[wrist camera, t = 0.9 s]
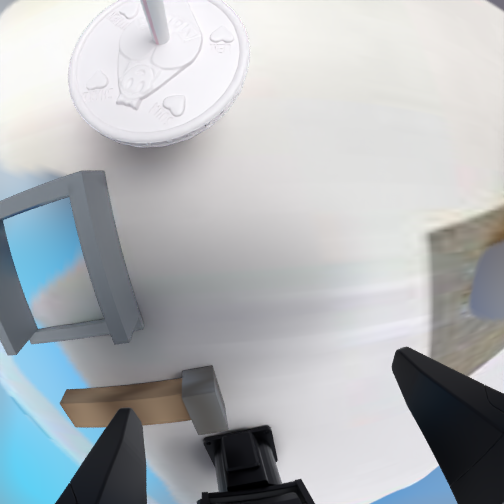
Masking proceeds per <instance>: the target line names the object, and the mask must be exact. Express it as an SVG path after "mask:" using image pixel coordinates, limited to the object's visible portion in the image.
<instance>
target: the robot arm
mask: <svg viewBox="0 0 504 504" xmlns="http://www.w3.org/2000/svg"><path fill="white" fill-rule="evenodd" d="M392 371H393V374H394V376H395V378H396V380H397V383H398V385H399V387H400V390H401V392H402V395H403V397H404V399H405V402H406V404H407V406H408V408H409V410H410V411H411V413H412V415H413V417H414V419H415V420H416V422H417V424H418V426H419V428H420V430H421V431H422V433H423V435H424V437H425V439H426V441H427V443H428V444H429V446H430V448H431V450H432V452H433V454H434V456H435V458H436V460H437V462H438V464H439V466H440V468H441V469H442V472H443V474H444V476H445V478H446V480H447V482H448V484H449V486H450V488H451V490H452V492H453V494H454V496H455V499H456V501H457V503H458V504H504V393H501V392H499V391H497V390H495V389H492V388H490V387H488V386H486V385H485V386H484V384H482V383H480V382H478V381H476V380H474V379H472V378H470V377H468V376H466V375H464V374H462V373H459V372H457V371H455V370H453V369H451V368H449V367H447V366H445V365H443V364H441V363H439V362H437V361H435V360H433V359H431V358H429V357H427V356H425V355H423V354H421V353H419V352H417V351H415V350H413V349H411V348H409V347H403V348H400V349H398V350H397V351H396V352H395V355H394V359H393V363H392ZM203 441H204V446H205V448H206V450H207V452H208V454H209V456H210V458H211V460H212V462H213V464H214V466H215V468H216V475H217V483H218V490H219V492H214V493H208V492H202V499H200V500H198V501H197V504H315V503H314V501H313V499H312V498H311V496H310V494H309V492H308V491H307V489H306V487H305V485H304V483H303V482H302V480H301V479H298V480H295V481H293V482H288V483H283V484H282V482H281V478H280V475H279V472H278V469H277V466H276V462H277V460H278V459H277V455H276V450H275V445H274V440H273V435H272V431H271V428H270V427H269V426H265V427H261V428H256V429H252V430H247V431H242V432H237V433H232V434H226V435H220V436H214V437H208V438H205V439H204V440H203ZM55 504H147V495H146V458H145V449H144V439H143V427H142V423H141V420H140V419H139V418H138V416H137V415H136V413H135V412H134V410H133V409H132V408H130V407H128V408H120V409H119V410H118V411H117V412H116V414H115V415H114V417H113V418H112V420H111V421H110V423H109V424H108V426H107V427H106V429H105V430H104V432H103V433H102V435H101V436H100V437H99V439H98V440H97V442H96V443H95V445H94V446H93V448H92V449H91V451H90V452H89V454H88V455H87V457H86V458H85V460H84V461H83V463H82V464H81V466H80V467H79V469H78V471H77V472H76V473H75V475H74V477H73V478H72V480H71V481H70V483H69V484H68V486H67V487H66V489H65V490H64V492H63V493H62V494H61V496H60V498H59V499H58V500H57V501H56V503H55Z"/></svg>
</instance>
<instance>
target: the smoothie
mask: <svg viewBox="0 0 504 504" xmlns="http://www.w3.org/2000/svg"><path fill="white" fill-rule="evenodd" d="M249 61H250V43H249V38H248V34H247V31H246V29H245V26H244V24H243V22H242V21H241V19H240V17H239V16H238V15H237V13H236V12H235V11H234V10H233V9H232V8H231V7H230V6H229V5H228V4H227V3H225V2H224V1H223V0H118V1H116V2H114V3H113V4H111V5H110V6H108V7H107V8H106V9H104V10H103V11H102V12H101V13H100V14H99V15H97V16H96V17H95V18H94V19H93V20H92V22H91V23H90V24H89V25H88V26H87V28H86V29H85V30H84V32H83V33H82V35H81V36H80V38H79V40H78V42H77V43H76V46H75V48H74V50H73V53H72V56H71V59H70V64H69V71H68V85H69V91H70V95H71V99H72V101H73V104H74V106H75V108H76V110H77V111H78V113H79V114H80V116H81V117H82V118H83V119H84V120H85V121H86V122H87V123H88V124H89V125H90V126H91V127H92V128H94V129H95V130H97V131H98V132H99V133H100V134H101V135H103V136H105V137H107V138H109V139H111V140H113V141H115V142H117V143H119V144H125V145H130V146H135V147H140V148H145V147H161V146H168V145H171V144H174V143H178V142H181V141H184V140H188V139H190V138H192V137H194V136H195V135H197V134H199V133H201V132H202V131H204V130H206V129H208V128H210V127H211V126H212V125H213V124H214V123H215V122H216V121H218V120H219V119H220V118H221V117H222V116H223V115H224V114H225V113H226V112H227V111H229V109H230V107H231V106H232V104H233V103H234V101H235V100H236V98H237V97H238V95H239V94H240V92H241V90H242V87H243V84H244V81H245V78H246V74H247V71H248V67H249Z"/></svg>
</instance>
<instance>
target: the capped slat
mask: <svg viewBox="0 0 504 504" xmlns="http://www.w3.org/2000/svg"><path fill="white" fill-rule="evenodd" d="M60 405H61V406H62V408H63V409H64V411H65V412H66V414H67V415H68V417H69V418H70V420H71V421H72V423H73V424H74V426H75V427H107V426H108V424H109V423H110V421H111V420H112V418H113V417H114V415H115V414H116V412H117V411H118V410H119V409H120V408H128V407H130V408H132V409H133V410H134V412H135V413H136V415H137V416H138V418H139V419H140V420H141V423H142V425H153V424H163V423H172V422H180V421H188V420H192V422H193V424H194V427H195V429H196V431H197V433H198V435H203V434H210V433H216V432H222V431H227V430H228V424H227V418H226V411H225V405H224V401H223V398H222V395H221V392H220V389H219V385H218V382H217V379H216V376H215V372H214V369H213V366H207V367H202V368H196V369H190V370H185V371H183V373H182V378H178V379H172V380H165V381H158V382H150V383H142V384H133V385H124V386H113V387H101V388H87V389H70V390H69V389H67V390H66V392H65V394H64V396H63V398H62V400H61V402H60Z"/></svg>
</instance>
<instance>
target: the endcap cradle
mask: <svg viewBox="0 0 504 504" xmlns="http://www.w3.org/2000/svg"><path fill="white" fill-rule="evenodd" d="M67 197H70V201H71V207H72V211H73V215H74V220H75V224H76V228H77V233H78V237H79V240H80V244H81V248H82V252H83V255H84V259H85V262H86V266H87V269H88V272H89V275H90V279H91V282H92V285H93V288H94V291H95V294H96V297H97V300H98V303H99V306H100V308H101V311H102V314H103V316H104V319H101V320H95V321H89V322H83V323H76V324H70V325H63V326H56V327H49V328H42V329H38V328H37V326H36V323H35V321H34V319H33V316H32V314H31V311H30V309H29V306H28V304H27V301H26V298H25V296H24V293H23V290H22V287H21V284H20V281H19V278H18V275H17V272H16V269H15V266H14V262H13V259H12V256H11V252H10V248H9V245H8V241H7V237H6V233H5V229H4V224H3V220H4V219H7V218H9V217H12V216H14V215H17V214H20V213H23V212H25V211H28V210H31V209H34V208H37V207H39V206H42V205H45V204H48V203H51V202H54V201H57V200H60V199H64V198H67ZM143 328H144V323H143V320H142V317H141V314H140V311H139V308H138V305H137V302H136V299H135V295H134V292H133V289H132V286H131V282H130V279H129V276H128V272H127V269H126V265H125V261H124V258H123V254H122V250H121V246H120V242H119V238H118V234H117V230H116V226H115V222H114V217H113V213H112V208H111V203H110V199H109V194H108V188H107V183H106V178H105V172H104V171H79V172H76V173H73V174H70V175H67V176H64V177H61V178H58V179H55V180H53V181H50V182H47V183H44V184H42V185H39V186H37V187H34V188H31V189H28V190H26V191H23V192H21V193H18V194H16V195H13V196H11V197H9V198H6V199H4V200H2V201H0V340H1V343H2V345H3V347H4V349H5V351H6V353H7V355H17V354H18V352H19V351H20V350H21V349H22V347H23V346H24V345H25V344H26V343H27V341H28V340H30V342H31V344H39V343H47V342H56V341H65V340H73V339H80V338H88V337H95V336H102V335H109V334H110V335H111V337H112V340H113V342H114V344H122V343H129V342H130V339H131V336H132V334H133V331H135V330H141V329H143Z"/></svg>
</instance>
